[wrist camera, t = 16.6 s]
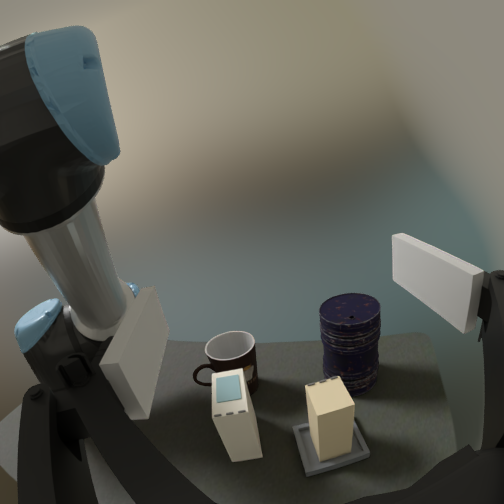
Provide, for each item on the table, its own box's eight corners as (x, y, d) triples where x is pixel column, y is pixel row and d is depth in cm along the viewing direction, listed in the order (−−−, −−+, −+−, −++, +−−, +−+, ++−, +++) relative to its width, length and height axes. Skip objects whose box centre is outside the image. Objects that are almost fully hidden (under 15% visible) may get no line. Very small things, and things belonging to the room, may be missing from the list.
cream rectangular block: (319, 462, 32) (317, 414, 29) (310, 434, 37) (305, 384, 34) (350, 452, 32) (354, 402, 29) (339, 426, 38) (339, 374, 34)
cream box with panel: (232, 462, 35) (211, 416, 32) (229, 420, 44) (211, 372, 40) (262, 457, 35) (248, 411, 32) (255, 415, 44) (242, 367, 41)
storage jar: (323, 363, 54) (318, 296, 49) (373, 358, 51) (375, 289, 47) (323, 399, 44) (318, 328, 40) (380, 393, 42) (386, 320, 38)
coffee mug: (259, 367, 56) (249, 326, 54) (268, 395, 48) (259, 352, 45) (202, 380, 55) (188, 340, 52) (204, 410, 47) (188, 368, 44)
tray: (306, 476, 31) (305, 472, 30) (293, 431, 39) (292, 426, 39) (369, 457, 31) (370, 452, 31) (348, 415, 40) (349, 410, 39)
